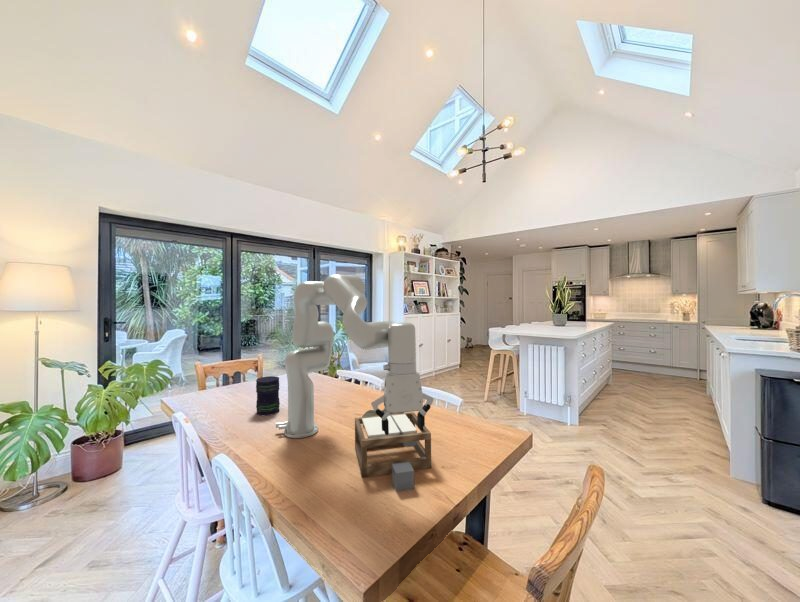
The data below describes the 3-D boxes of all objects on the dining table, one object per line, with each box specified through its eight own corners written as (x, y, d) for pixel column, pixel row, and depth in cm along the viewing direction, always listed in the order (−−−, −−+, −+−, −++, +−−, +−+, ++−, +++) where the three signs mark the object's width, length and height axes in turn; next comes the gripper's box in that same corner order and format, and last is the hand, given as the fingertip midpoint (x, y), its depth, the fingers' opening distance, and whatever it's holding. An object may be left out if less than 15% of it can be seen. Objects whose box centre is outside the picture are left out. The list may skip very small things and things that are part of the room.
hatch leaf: (368, 452, 93) (368, 436, 93) (361, 432, 108) (361, 417, 108) (417, 446, 97) (417, 430, 97) (404, 427, 111) (404, 413, 111)
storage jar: (274, 415, 141) (274, 381, 140) (252, 415, 141) (251, 381, 141) (283, 407, 150) (282, 376, 150) (262, 407, 151) (261, 376, 151)
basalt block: (396, 492, 85) (395, 473, 85) (391, 481, 89) (391, 463, 89) (414, 489, 86) (414, 470, 86) (409, 479, 91) (409, 461, 91)
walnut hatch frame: (361, 477, 91) (361, 441, 91) (355, 448, 109) (354, 417, 109) (431, 467, 96) (430, 433, 96) (413, 441, 114) (413, 412, 114)
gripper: (373, 373, 82) (374, 440, 81) (437, 368, 86) (438, 432, 86) (368, 367, 89) (369, 429, 89) (427, 363, 93) (429, 422, 93)
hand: (403, 430), depth 87 cm, fingers open, 9 cm apart
